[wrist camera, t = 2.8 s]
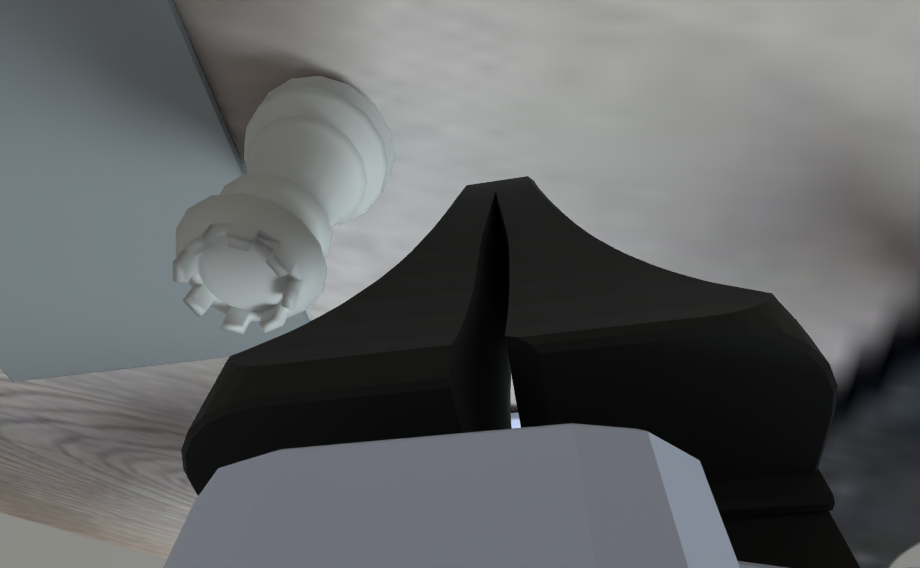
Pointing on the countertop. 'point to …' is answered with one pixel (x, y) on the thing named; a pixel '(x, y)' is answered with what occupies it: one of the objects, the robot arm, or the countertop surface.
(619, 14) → the countertop surface
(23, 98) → the mat
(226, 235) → the rook chess piece
